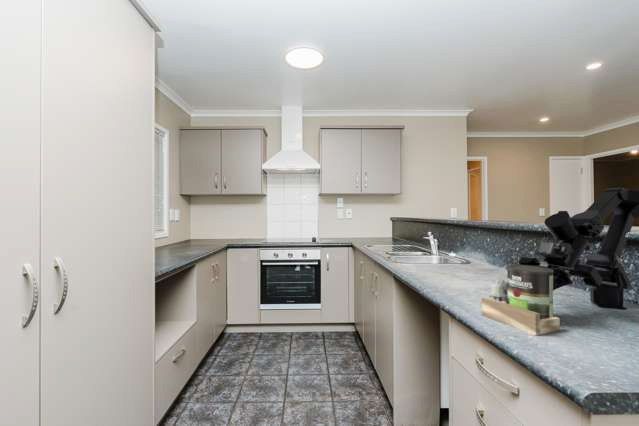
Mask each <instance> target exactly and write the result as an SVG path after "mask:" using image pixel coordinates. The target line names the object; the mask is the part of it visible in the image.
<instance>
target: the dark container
mask: <svg viewBox="0 0 639 426" xmlns="http://www.w3.org/2000/svg"><path fill="white" fill-rule="evenodd" d="M506 271H507V282H508V288H507V304H510V305H513V306H516V307H520V308H523V309H526V310H530V311H533V312H536V313H539V314H540V320H541V319H547V318H552V317H554V290H553V273H554V271H553V270H552V269H549V268H545V267H540V266H531V265H520V264H508V265H507V266H506Z"/></svg>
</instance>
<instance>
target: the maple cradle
mask: <svg viewBox="0 0 639 426" xmlns="http://www.w3.org/2000/svg"><path fill="white" fill-rule="evenodd" d="M480 300H481V316H483V317H485V318H488V319H491V320H493V321H496V322H499V323H502V324H503V325H507V326H510V327H512V328H515V329H517V330H520V331H523V332H525V333H528V334H531V335H534V336H540V335H544V334H549V333H554V332H559V331H560V329H561V326H560V317H557V316H553V317H552V318H547V319H541V320H540V314H539V313H536V312H533V311H530V310H526V309H523V308H520V307H516V306H513V305H510V304H508V301H506V302H504V301H502V302H500V301H497V300H494V299H490V298H489V297H486V296H482V297H481V299H480Z"/></svg>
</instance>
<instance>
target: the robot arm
mask: <svg viewBox="0 0 639 426" xmlns="http://www.w3.org/2000/svg"><path fill="white" fill-rule="evenodd" d="M611 213H613V216H612V219H611V221H610V224H609V226H608V229H607V231H606V234H605V236H604V239H603V241H602V244H601V246H600V249H599V251H598V252H596V253H592V252H591V253H589V254H588V256H587V260H586V261H585V263H582V261H581V260H580V257H582V254H583V252H584V251H591V245H590V244H589V241H588V240H587V238H597V237H599V236H600V235H601V233H602V232H603V230H604V229H605V226H604V221H605V220H606V219H607V218H608V216H609V215H610V214H611ZM638 218H639V191H638V190H634V189H633V190H631V189H628V188H624V187H614V188H606V189H604V190H603V191H602V192H601V195H600V196H598V198H597V199H596V200H595V201H594V202H592V204H591V205H590V206H589V207H588V208H587V209H586V210H585V211H583V212H580V213H576V214H574V215H572V216H570V214H569V212H568V211H567V210H558V211H557V212H556V213H553V214H552V215H550V216H548V217H546V218H545V219H544V225H545V227H546V228H547V230H549V232H550V234H551V235H552V237H553V238H554V239H555V240H557V241H559V243H554V242H543V241H539V242H538V246H537V249H536V254H538V255H541V256H542V260H543V261H540V262H539V260H538V258H537V257H531V256H521V257H520V258H519V260H518V263H519V264H518V265H531V266H540V267H545V268H549V269H552V270H553V271H554V273H553V291H555V290H557V289H560V288H562V287H565V286H567V285H573V284H574V281H573V279H575V278H576V277H578V278H583V279H582V281H583V283H584V284H585V285H586V286H590V289H589V294H590V295H589V297H590V299H589V301H590V303H592V304H594V305H595V306H597V307H600V308H608V309H619V310H627V307H626V306H624V290H629V288H630V286H631V279H630V278H629V277H628V275H627V273H626V272H625V265H624V264H623V261H622V260H621V258H622V254H623V252H624V249H625V246H626V244H627V241H628V239H627V238H626V237H625V235H626V233H628V232H630V233H631V230H632V228H633V225H634V223H635V220H636V219H638Z"/></svg>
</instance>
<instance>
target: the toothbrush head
mask: <svg viewBox="0 0 639 426" xmlns="http://www.w3.org/2000/svg"><path fill="white" fill-rule="evenodd" d="M507 289H508V281H507V280H506V279H505V278H499V277H498V278H496V279H495V280H493V283H492V284H491V286H490V291H489V292H488V293H487V295H488V298H490V299H494V300H497V301H500V302H502V301H504V302H507V298H508V293H506V292H505V290H507Z"/></svg>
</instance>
